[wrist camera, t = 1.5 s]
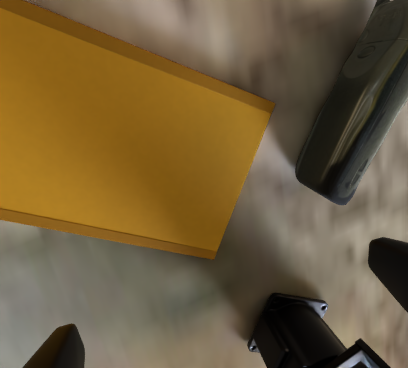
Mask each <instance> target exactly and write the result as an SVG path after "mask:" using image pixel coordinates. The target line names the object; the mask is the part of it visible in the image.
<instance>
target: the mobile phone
mask: <svg viewBox="0 0 408 368" xmlns="http://www.w3.org/2000/svg"><path fill="white" fill-rule="evenodd" d="M407 100H408V0H393V1H390V0H377V2H376V4H375V7H374V9H373V11H372V13H371V16H370V18H369V20H368V22H367V25H366V27H365V29H364V31H363V33H362V34H361V36H360V38H359V40H358V42H357V44H356V46H355V49H354V50H353V52H352V54H351V55H350V56H349V58H348V59H347V61H346V62H345V64H344V66H343V68H342V70H341V73H340V75H339V77H338V79H337V81H336V84H335V86H334V88H333V90H332V92H331V94H330V96H329V98H328V100H327V101H326V103H325V105H324V107H323V108H322V110H321V112H320V114H319V116H318V118H317V120H316V123H315V125H314V127H313V129H312V131H311V133H310V135H309V137H308V139H307V141H306V143H305V145H304V147H303V149H302V151H301V153H300V156H299V158H298V161H297V164H296V168H295V173H296V177H297V179H298V181H299V182H300V183H302V184H303V185H305V186H307V187H308V188H310V189H312V190H313V191H315V192H317V193H318V194H320V195H322V196H323V197H325V198H327V199H328V200H330V201H332V202H334V203H336V204H338V205H346V204H347V203H348V202H349V201H350V199H351V198H352V197H353V195H354V193H355V190H356V188H357V186H358V184H359V182H360V180H361V179H362V177H363V175H364V173H365V171H366V170H367V168H368V166H369V164H370V162H371V161H372V159H373V157H374V156H375V154H376V153H377V151H378V150H379V148H380V146H381V144H382V142H383V141H384V139H385V137H386V135H387V133H388V131H389V130H390V128H391V126H392V124H393V122H394V120H395V119H396V117H397V115H398V113H399V112H400V110H401V109H402V107H403V106H404V105H405V103H406V102H407Z"/></svg>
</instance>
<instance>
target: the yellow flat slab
mask: <svg viewBox="0 0 408 368" xmlns="http://www.w3.org/2000/svg"><path fill="white" fill-rule="evenodd" d="M274 107H275V103H274V102H271V101H269V100H266V99H264V98H261V97H259V96H256V95H254V94H252V93H249V92H247V91H244V90H242V89H239V88H237V87H234V86H232V85H229V84H227V83H225V82H222V81H220V80H217V79H215V78H212V77H210V76H207V75H205V74H203V73H200V72H198V71H195V70H193V69H190V68H188V67H185V66H183V65H181V64H178V63H176V62H173V61H171V60H168V59H166V58H163V57H161V56H159V55H156V54H154V53H151V52H149V51H146V50H144V49H141V48H139V47H137V46H134V45H132V44H129V43H127V42H124V41H122V40H119V39H117V38H114V37H112V36H110V35H107V34H105V33H102V32H100V31H97V30H95V29H92V28H90V27H88V26H85V25H83V24H80V23H78V22H75V21H73V20H70V19H68V18H66V17H63V16H61V15H58V14H56V13H53V12H51V11H48V10H46V9H44V8H41V7H39V6H36V5H34V4H31V3H29V2H26V1H24V0H0V220H5V221H10V222H16V223H21V224H26V225H32V226H37V227H42V228H48V229H53V230H58V231H63V232H69V233H74V234H79V235H85V236H90V237H95V238H101V239H106V240H111V241H117V242H122V243H127V244H133V245H138V246H143V247H149V248H154V249H159V250H164V251H170V252H175V253H180V254H186V255H191V256H196V257H202V258H207V259H212V260H214V258H215V255H216V253H217V250H218V247H219V245H220V242H221V240H222V237H223V235H224V232H225V230H226V227H227V225H228V222H229V220H230V217H231V215H232V212H233V210H234V207H235V204H236V202H237V199H238V197H239V194H240V192H241V189H242V187H243V184H244V182H245V179H246V177H247V174H248V172H249V169H250V167H251V164H252V162H253V159H254V156H255V154H256V151H257V149H258V146H259V144H260V141H261V139H262V136H263V134H264V131H265V129H266V126H267V124H268V121H269V119H270V116H271V114H272V112H273V109H274Z"/></svg>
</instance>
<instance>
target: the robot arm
mask: <svg viewBox="0 0 408 368" xmlns="http://www.w3.org/2000/svg"><path fill="white" fill-rule="evenodd" d="M368 264H369V267H370V269H371V270H372V271H373V273H374V274H375V275H376V276H377V277H378V279H379V280H380V281H381V282H382V283H383V284H384V286H385V287H386V288H387V289H388V290H389V292H390V293H391V294H392V295H393V296H394V298H395V299H396V300H397V301H398V302H399V303H400V305H401V306H402V307H403V308H404V309H405V310H406V311H407V312H408V243H407V242H403V241H398V240H394V239H390V238H385V237H382V238H378V239H374V240H372V241H371V242H370V244H369V256H368ZM275 298H276V299H275ZM274 299H275V300H274ZM327 308H328V304H327V303H326V302H325V301H323V300H317V299H311V298H305V297H299V296H292V295H286V294H280V293H273V294H272V295H271V296H270V297H269V299H268V301H267V304H266V306H265V308H264V310H263V312H262V314H261V316H260V319H259V321H258V323H257V325H256V327H255V329H254V331H253V334H252V336H251V338H250V340H249V342H248V345H247V346H248V349H249V351H251V352H260V354H261V356H262V358H263V360H264V362H265V364H266V367H267V368H391V367H389V366H388V365H387V364H386V363H385V362H384V361H383V360H382V359H381V358H380V357H379V356H378V355H377V354H376V353H375V352H374V351H373V350H372V349H371V348H370V347H369V346H368V345H367V344H366V343H365V342H364V341H363V340H362V339H361V338H360V339H358V340H357V341H356V342H355V344H354V345H352V346H351V347H350V348H348V349H346V347H345V346H344V345H343V344H342V342H341V341H340V340H339V339H338V337H337V336H336V335H335V334H334V333H333V331H332V330H331V329H330V328H329V326H328V325H327V324H326V323H325V322H324V320H323V319H322V318H323V316H324V314H325V312H326V310H327ZM84 362H85V349H84V345H83V342H82V340H81V337H80V335H79V332H78V330H77V327H76V326H75V324H68V325H64V326H61V327H58V328H57V329H56V330H55V331H54V332H53V333H52V334H51V335H50V336H49V338H48V339H47V340H46V341H45V342H44V343H43V345H42V346H41V347H40V348H39V349H38V350H37V351H36V353H35V354H34V355H33V356H32V357H31V358H30V360H29V361H28V362H27V363H26V364H25V365H24V366H23V368H84Z"/></svg>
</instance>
